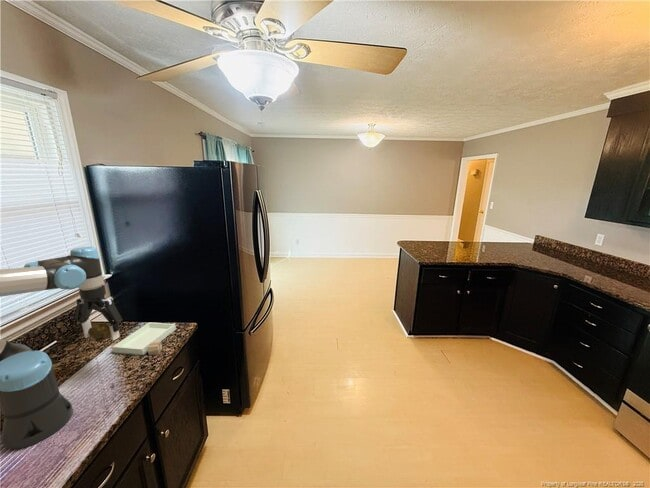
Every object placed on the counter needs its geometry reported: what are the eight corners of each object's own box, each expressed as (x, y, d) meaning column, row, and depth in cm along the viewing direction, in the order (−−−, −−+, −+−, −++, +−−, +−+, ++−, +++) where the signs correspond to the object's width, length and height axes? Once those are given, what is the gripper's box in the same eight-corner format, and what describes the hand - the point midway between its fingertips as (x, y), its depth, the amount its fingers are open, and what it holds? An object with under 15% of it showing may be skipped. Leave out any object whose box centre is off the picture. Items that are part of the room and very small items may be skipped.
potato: (119, 329, 113) (116, 312, 112) (111, 345, 102) (108, 326, 100) (94, 334, 110) (90, 317, 108) (84, 351, 98) (79, 331, 97)
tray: (143, 355, 115) (142, 349, 115) (113, 352, 117) (112, 346, 117) (176, 329, 136) (175, 324, 135) (150, 327, 138) (149, 322, 137)
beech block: (158, 354, 116) (157, 346, 115) (148, 355, 115) (147, 347, 115) (162, 348, 120) (160, 340, 119) (152, 349, 119) (151, 342, 118)
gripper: (127, 284, 103) (136, 334, 108) (75, 281, 106) (86, 330, 111) (110, 292, 96) (120, 345, 101) (54, 289, 99) (66, 340, 104)
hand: (102, 337), depth 106 cm, fingers closed on potato, 12 cm apart
